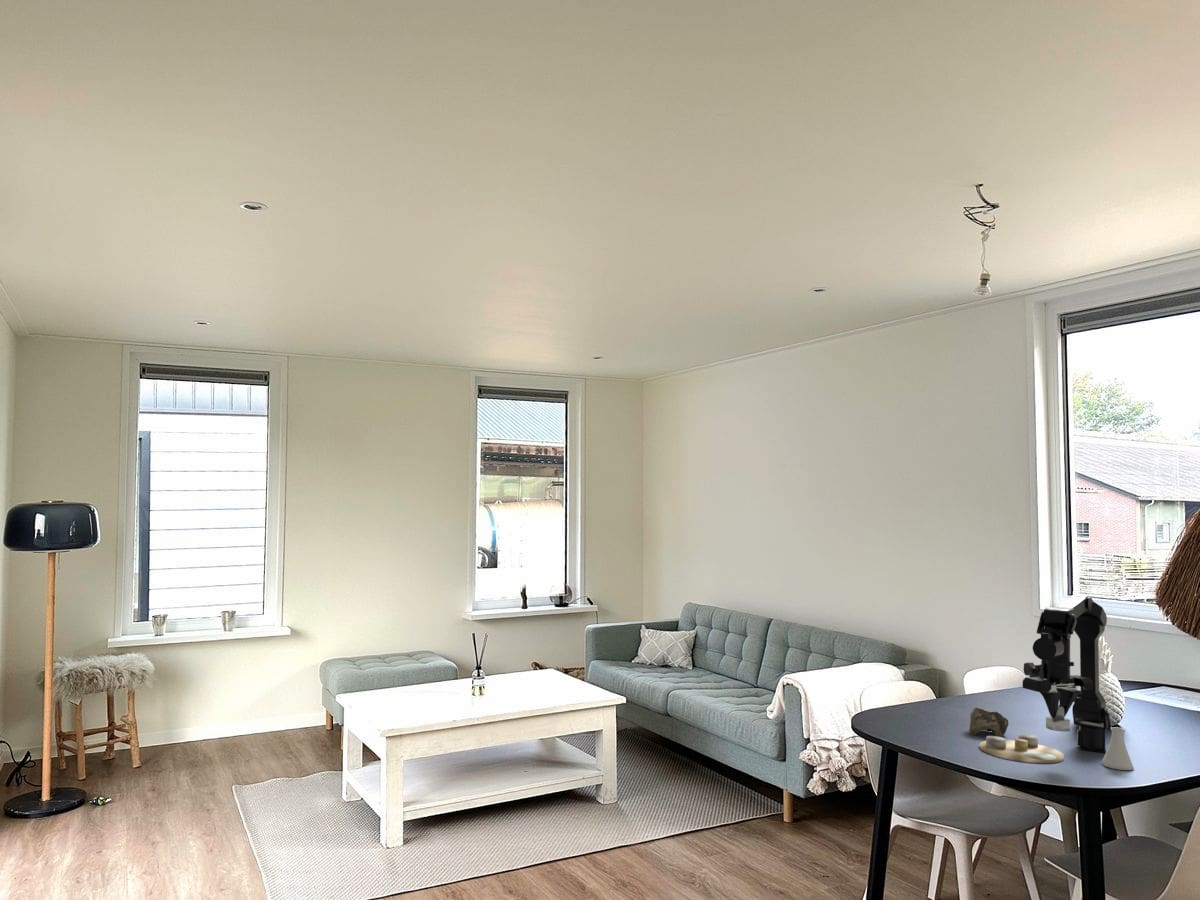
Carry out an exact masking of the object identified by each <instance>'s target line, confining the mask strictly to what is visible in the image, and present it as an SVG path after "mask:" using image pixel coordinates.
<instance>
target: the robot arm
mask: <svg viewBox="0 0 1200 900" xmlns="http://www.w3.org/2000/svg"><path fill="white" fill-rule="evenodd" d="M1107 619H1108V618H1107V614H1106V611H1105V609H1104V607H1102V606H1101V605H1099V604H1098V603H1096V602H1095V601H1094V600H1093V599H1092V597H1091V596H1089V595H1081V594H1073V595H1070V596H1069V599H1067V600H1066V601H1064V602H1063V603H1061V604H1060V605H1057V606H1047V607H1045V608H1044V609H1043V611H1041V614H1040V616H1039V621H1038V624H1037V625H1038V626H1037V629H1036V634H1039V635H1040V638H1037V639H1036V640H1035V641H1034V642H1033V645H1032V652H1033V654H1034V655H1035V657H1036V658H1038V659H1039V660H1041V661H1040V662H1041V664H1038V665H1036V664H1035V663H1034V662H1025V663H1023V673H1024V674H1023V675H1025V676H1027V677H1024V678H1023V679H1022V689H1026V690H1030V691H1034V692H1035V693H1036V692H1037V693H1040V695H1041V696H1042V697H1043V700H1044V702H1045V704H1046V707H1047V710H1048V713H1049V717H1053V718H1055V716H1056V713H1057V708H1058V705H1063V706H1064V718H1065V717H1066V716H1067V714H1068V712H1069V710H1070V709H1072V710H1071V711H1072V718H1073V725H1075V726H1079V728H1078V729H1077V730H1076V731H1077V733H1076V734H1077V735H1076V737H1077V739H1076V744H1077V746H1078V747H1079V750H1085V751H1092V752H1100V753H1106V752H1107V749H1106V731H1112V730H1111V727H1112V725H1113V724H1112V717H1111V715H1110V712H1109V709H1108V708H1107V702H1106V699H1105V697H1104V696H1103V695H1102V693H1101V692H1100V667H1099V666H1100V665H1099V663H1100V661H1099V657H1100V656H1099V653H1100V651H1099V639H1100V638H1101V637H1102V635H1103V633H1104V632H1105V631H1106V630H1105V629H1106V626H1107V624H1108V623H1107V622H1108V621H1107ZM1074 632H1075V634H1076V636H1077V637H1078V639H1079V657H1080V659H1079V661H1080V663H1079V668H1080V671H1079V672H1080V675H1078V674H1076V675H1075V674H1073V675H1072V674H1071V667H1075V662H1074V661H1071V638H1072V635H1074ZM1077 687H1079V688H1080V690H1078V688H1077ZM1071 707H1072V708H1071Z"/></svg>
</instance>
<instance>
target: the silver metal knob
mask: <svg viewBox="0 0 1200 900" xmlns="http://www.w3.org/2000/svg"><path fill="white" fill-rule="evenodd" d="M1045 728H1046V729H1048V730H1051V731H1055V732H1070V731H1071V720H1070V719H1069V718H1065V717H1064V706H1063V705H1060V704H1058V708H1057V713H1056V716H1055V718H1053V717H1051V716H1047V717H1046V716H1045Z"/></svg>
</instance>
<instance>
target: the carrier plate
mask: <svg viewBox="0 0 1200 900" xmlns="http://www.w3.org/2000/svg"><path fill="white" fill-rule="evenodd" d="M1017 736H1018V737H1017V738H1015V739H1014V740H1011V739H1006V738H1004V737H997V736H996V735H986V738H985V740H982V741H981V742H980V743H979V749H980V750H981V751H982V752H984V753H986V754H988V755H991V756H993V757H997V758H1001V759H1004V760H1005V759H1006V760H1010V761H1015V762H1021V763H1029V764H1031V763H1032V764H1056V763H1057V764H1058V763H1061V762H1064V760H1065V754H1064V753H1063V752H1061V750H1058V749H1055V748H1052V747H1049V746H1046V745H1042V744H1039V737H1038V736H1036V735H1032V734H1027V733H1026V734H1025V733H1024V734H1023V733H1021V734H1018V735H1017Z"/></svg>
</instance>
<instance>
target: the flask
mask: <svg viewBox="0 0 1200 900" xmlns="http://www.w3.org/2000/svg"><path fill="white" fill-rule="evenodd" d="M1110 731H1111V737H1110V738H1111V739H1110V743H1109V745H1108V747H1107V749H1106V752H1105V754H1104V756H1103V758H1102V761H1101V764H1102V765H1103V766H1104V767H1107V768H1110V769H1113V770H1121V771H1132V770H1135V768H1134V766H1133V763H1132V759H1131V757H1130V754H1129V752H1128V749H1127V747H1126V743H1125V737H1124V735H1125V732H1126V730H1125V729H1124V728H1122V727H1115V726H1114V727H1111V730H1110Z"/></svg>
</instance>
